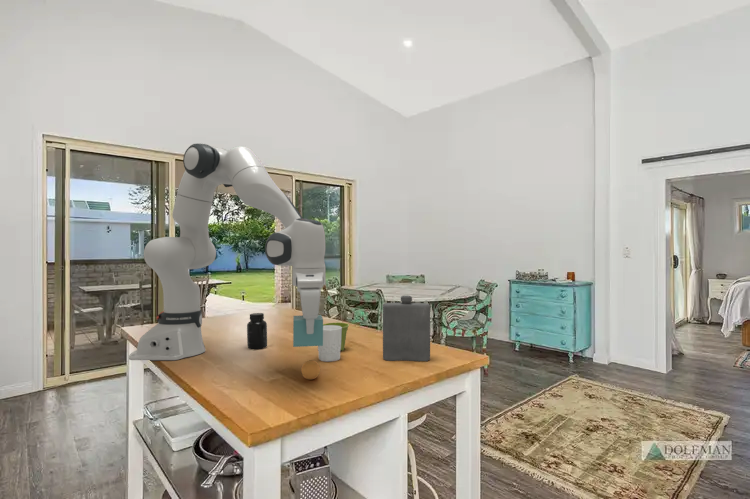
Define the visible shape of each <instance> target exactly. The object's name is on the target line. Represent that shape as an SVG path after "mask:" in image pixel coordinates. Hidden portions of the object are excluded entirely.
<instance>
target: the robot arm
mask: <svg viewBox="0 0 750 499" xmlns="http://www.w3.org/2000/svg"><path fill="white" fill-rule="evenodd" d="M182 163H183V167H184V172H183V175H182V176H181V179H180V182H179V186H178V188H177V193H176V196H175V201H174V205H173V210H172V214H171V215H172V219H173V221H174V222H176V223H177V225H178V226H179V231H180V232H179V233H180V234H179V235H180V236H163V237H159V238H154V239H151V240H149V241H148V242H147V243H146V245H145V247H144V250H143V259H144V261H145V263H146V265H147V266H148V267H149V268H150V269H152V270H153V271H154V272H155V273H156V275H157V277H158V278H159V281H160V283H161V287H162V291H163V311H161V312H160V313H159V314H158V315H157V316H155V319H156V320H157V324H155V325H154V326H153V327H151V328H150V329H149V330H147V331H146V332H145V333H144V334H143V335H141V337H140V338H139V339H138V343H137V347H136V350H134V351H132V352H131V353H130V354H129V355H128V360H129V361H178V360H180V359H184V358H189V357H193V356H197V355H201V354H203V353H205V352H206V347H205V344H204V340H203V335H202V324H203V314H202V309H201V288H200V286H199V284H197V282H195V281H193V279H192V278H191V276H190V271H189V270H197V269H202V268H203V269H204V268H205V267H208V266H210V265H212V264H213V263H214V261H215V260H216V256H217V249H216V246H215V245H214V244H213V243H212V240H211V238H210V234H209V220H210V216H211V210H212V206H213V201H214V198H215V192H216V189H217V188H218V187H219V186H221V185H223V186H224V187H225V188H229V187H232V189H233V190H234V192H235V194H236V196H238V198H239V200H241V201H242V203H244V204H245V205H246V206H248V207H252V208H253V209H256V210H257V209H258V210H260V211H264V212H265V213H268V214H270V215H272V216H274V217H275V218H277V219H278V220H279V221H280V222H281V224H282V225H283V227H284V228H283V229H282V230H279V231H277V232H273V233H271V234H270V235H269V236H268V238H267V239H266V241H265V245H264V252H265V257H266V258H267V260H268V262H269V263H270V264H272V265H274V266H279V267H288V266H289V267H291V266H292V274H291V275H292V276H291V278H292V281H291V282H292V283H291V284H292V286H293V287H296V288H297V289H296V291H297V292H299V295H300V305H301V312H302V315H303V318H304V319H306V332H307V334H313V333H314V318H317V317H318V315H319V312H320V303H321V292H322V288H324V286H325V285H326V284H327V282H326V281H327V280H326V279H327V278H326V277H327V275H326V263H325V254H326V233H325V229H324V225H323V223H322V222H321V221H319V220H316V219H313V218H311V219H310V218H303V216H302V214H301V213H300V212H299V210H298V209H297V208H296V206H295V205H294V203H293V202H292V201H291V199H289V197H288V196H287V195H286V194H285V193H284V191H282V190H281V189H280V188H279V186H278V185H277V184H276V183H275V181H274V180H273V178H272V177H271V176H270V174H269V173H268V171H267V169H266V167H265V166H264V164H263V163H262V161H261V160H260V158H259V157H258V156H257V155H256V153H255V152H254V151H253V150H252V149H251V148H249V147H247V146H244V145H241V146H235V147H232V148H230V150H229V149H226V148H220V147H216V146H211V145H209V144H206V143H193V144H191V145H190V146H188V148H187V149H186V150H185V152H184V154H183V157H182Z"/></svg>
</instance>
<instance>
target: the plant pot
mask: <svg viewBox="0 0 750 499" xmlns="http://www.w3.org/2000/svg"><path fill="white" fill-rule="evenodd" d="M325 325H336V326H341V327H342V335H341V350H340V352H341V351H342V352H343V351H345V347H346V339H347V334H348V328H349V326H350V324H349V323H345V322H328V323H323V326H325Z"/></svg>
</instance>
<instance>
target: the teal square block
mask: <svg viewBox="0 0 750 499" xmlns="http://www.w3.org/2000/svg"><path fill="white" fill-rule="evenodd" d="M292 320H293V324H292V325H293V327H292V328H293V329H292V332H293V333H292V334H293V336H292V339H293V340H292V345H293V346H292V347H294V348H298V347H299V348H300V347H318V346H323V324H324V318H323V316H322V314H318V317H317V318H314V333H313V334H307V332H306V319H304V318H303V314H302V315H293V319H292Z"/></svg>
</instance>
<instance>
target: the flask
mask: <svg viewBox="0 0 750 499" xmlns="http://www.w3.org/2000/svg"><path fill="white" fill-rule="evenodd" d="M400 301H401V302H385V303H383V304H382V359H383V360H384V361H387V362H395V361H396V362H397V361H398V362H400V361H403V362H405V361H407V362H420V361H426V362H429V361H430V360H431V304H429V303H424V302H412V301H413V297H412V296H411V295H401V296H400ZM428 360H429V361H428Z"/></svg>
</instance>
